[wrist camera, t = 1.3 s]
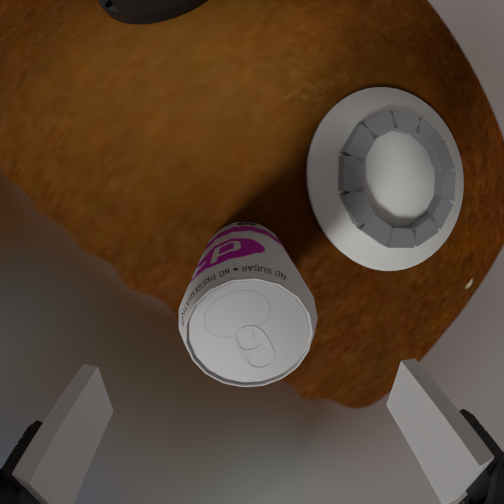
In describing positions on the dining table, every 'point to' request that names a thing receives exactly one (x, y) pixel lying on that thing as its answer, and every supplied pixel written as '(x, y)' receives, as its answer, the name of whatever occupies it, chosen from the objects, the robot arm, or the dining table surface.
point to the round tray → (384, 178)
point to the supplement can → (247, 309)
